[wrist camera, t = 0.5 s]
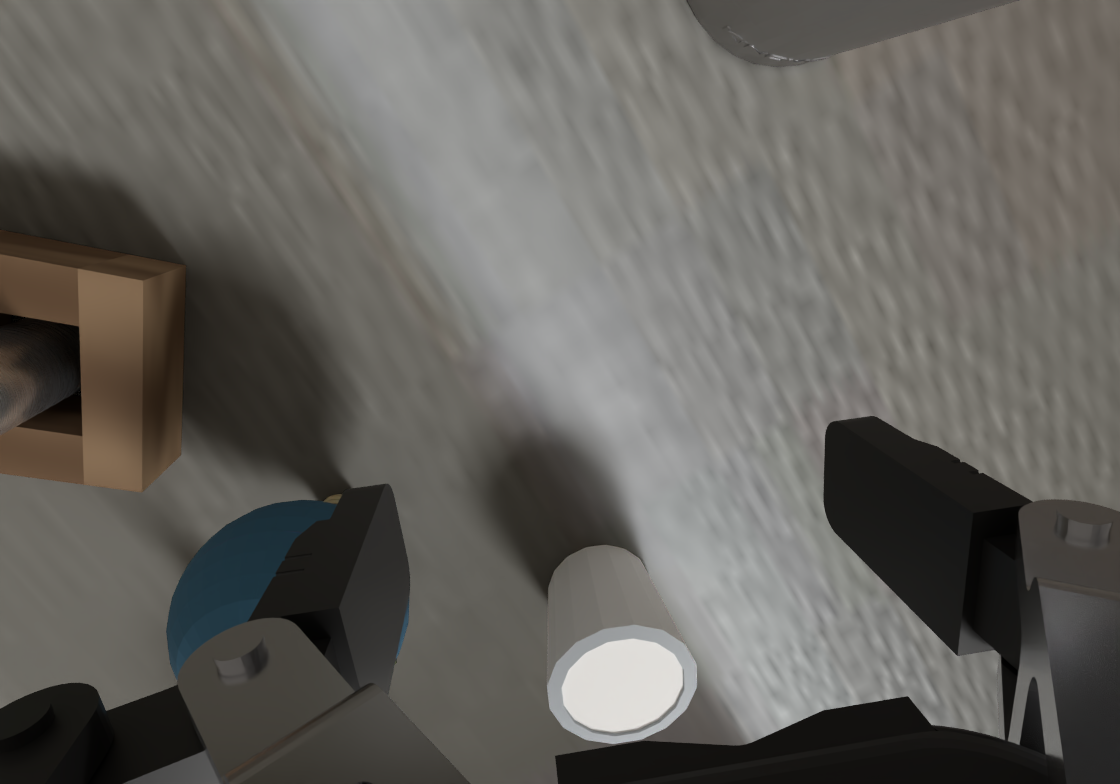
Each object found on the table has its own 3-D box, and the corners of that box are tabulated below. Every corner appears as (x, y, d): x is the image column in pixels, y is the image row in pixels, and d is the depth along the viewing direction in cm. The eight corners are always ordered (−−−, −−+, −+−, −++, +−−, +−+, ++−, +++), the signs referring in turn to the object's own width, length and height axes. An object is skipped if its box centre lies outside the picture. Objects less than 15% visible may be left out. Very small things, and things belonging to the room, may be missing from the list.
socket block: (-57, 218, 25) (-139, 228, 22) (186, 265, 26) (143, 280, 23) (-37, 423, 28) (-107, 459, 25) (180, 455, 29) (142, 492, 26)
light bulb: (303, 396, 29) (183, 546, 18) (460, 480, 31) (441, 660, 20) (223, 530, 31) (71, 741, 20) (376, 600, 33) (318, 824, 22)
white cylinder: (510, 585, 34) (514, 688, 27) (610, 511, 33) (640, 599, 26) (588, 658, 36) (609, 768, 30) (684, 590, 35) (728, 689, 29)
